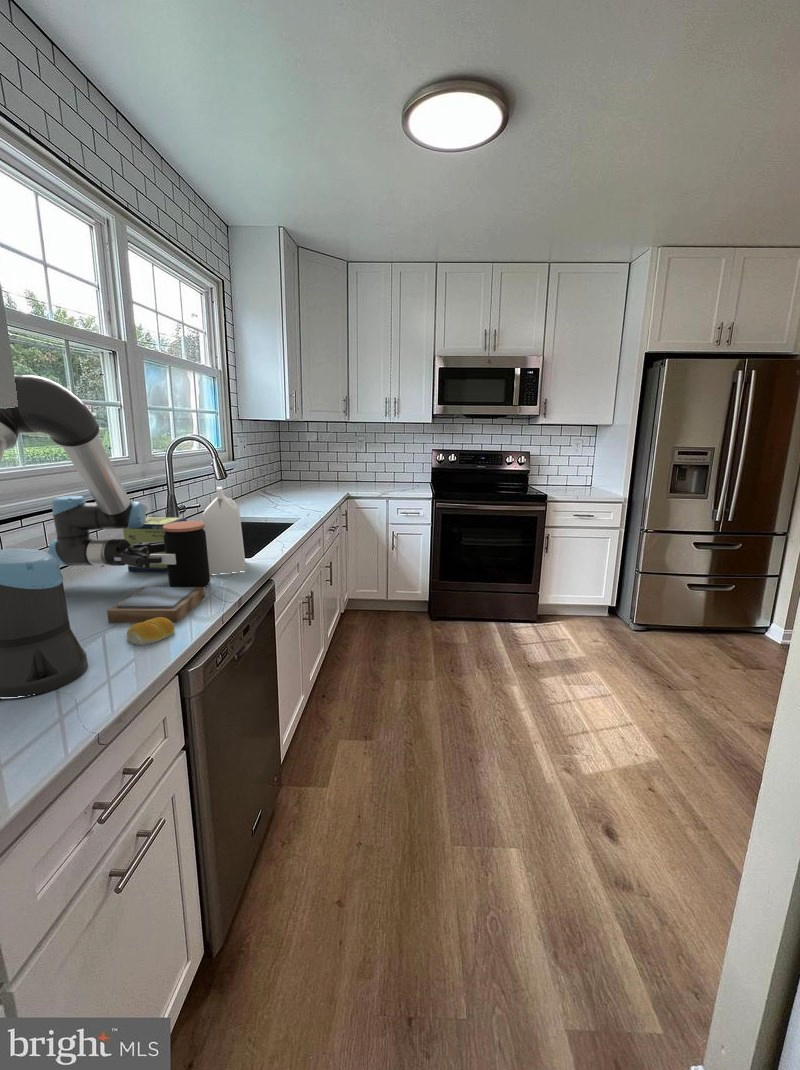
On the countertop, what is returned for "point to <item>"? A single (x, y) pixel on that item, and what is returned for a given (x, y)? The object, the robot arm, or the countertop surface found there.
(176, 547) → the coffee jar
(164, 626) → the bread roll
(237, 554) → the milk
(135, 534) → the protein box
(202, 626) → the countertop surface
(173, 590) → the plinth
